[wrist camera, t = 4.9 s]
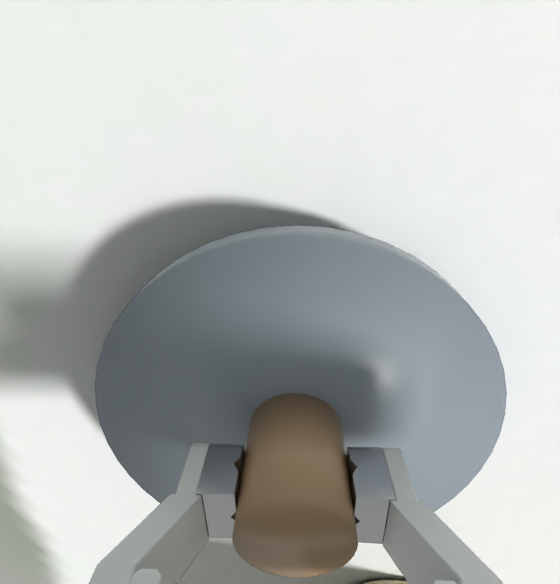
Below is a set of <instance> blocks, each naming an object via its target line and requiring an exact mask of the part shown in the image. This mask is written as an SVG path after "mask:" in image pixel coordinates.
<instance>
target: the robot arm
mask: <svg viewBox="0 0 560 584" xmlns="http://www.w3.org/2000/svg"><path fill="white" fill-rule="evenodd" d="M244 457H245V447H244V445H234V444H215V443H193V445H192V446H191V448H190V451H189V454H188V457H187V460H186V464H185V467H184V470H183V473H182V476H181V479H180V482H179V485H178V489H177V492H176V494H170V495H169V496H168V497H167V498H166V499H165V500H164V501H163V502H162V503H161V504H160V505H159V506H158V507H157V508H156V509H155V510H154V511H152V512H151V513H150V514H149V515H148V516H147V517H146V518H145V519H144V520H143V521H142V522H141V523H140V524H139V525H138V526H137V527H136V528H135V529H134V530H133V531H132V532H131V533H130V534H129V535H128V536H127V537H126V538H125V539H124V540H122V541H121V542H120V543H119V544H118V545H117V546H116V547H115V548H114V549H113V550H112V551H111V552H110V553H109V554H108V555H107V556H106V557H105V558H104V559H103V560H102V561H101V562H100V563H99V564H98V565H97V567H96V569H95V571H94V573H93V576H92V578H91V580H90V582H89V584H177V583H178V581H179V580H180V579H181V577H182V576H183V574H184V573H185V572H186V570H187V569H188V568H189V566H190V565H191V563H192V562H193V561H194V559H195V558H196V557H197V555H198V554H199V552H200V551H201V550H202V548H203V547H204V545H205V544H206V543H207V541H208V540H209V539H208V538H232V535H233V528H234V522H235V515H236V510H237V503H238V497H239V490H240V483H241V476H242V471H243V464H244ZM346 460H347V468H348V475H349V481H350V488H351V496H352V503H353V510H354V516H355V523H356V530H357V537H358V542H362V543H378V544H383V547H384V548H385V550H386V551H387V553H388V554H389V555H390V557H391V558H392V560H393V561H394V563H395V564H396V566H397V567H398V569H399V570H400V571H401V573H402V574H403V576H404V577H405V579H406V580H407V582H408V583H409V584H503V582H502V581H501V580H500V579H499V578H498V577H497V576H496V575H495V574H494V573H493V572H492V571H491V570H490V569H489V568H488V567H487V566H486V565H485V564H484V563H483V562H482V561H481V560H480V559H479V558H478V557H477V556H476V555H475V554H474V553H473V552H472V551H471V550H470V549H469V548H468V547H467V545H466V544H465V543H464V542H463V541H462V540H461V539H460V538H459V537H458V536H457V535H456V534H455V533H454V532H453V531H452V530H451V529H450V528H449V527H448V526H447V525H446V524H445V523H444V522H443V521H442V520H441V519H440V518H439V517H438V516H437V515H436V514H435V513H434V512H433V511H432V510H431V509H430V508H429V507H428V506H427V505H426V504H425V503H424V502H421V501H417V498H416V494H415V491H414V488H413V485H412V482H411V479H410V475H409V472H408V469H407V466H406V463H405V460H404V456H403V453H402V451H401V449H400V448H381V447H347V450H346Z"/></svg>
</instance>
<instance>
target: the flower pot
mask: <svg viewBox="0 0 560 584" xmlns="http://www.w3.org/2000/svg"><path fill="white" fill-rule="evenodd" d="M363 584H409V583H408V582H407V581H397V580H393V581H390V580H378V581H370V582H366V583H363Z"/></svg>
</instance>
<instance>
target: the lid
mask: <svg viewBox="0 0 560 584" xmlns="http://www.w3.org/2000/svg"><path fill="white" fill-rule="evenodd" d="M506 393H507V392H506V383H505V374H504V369H503V365H502V362H501V359H500V356H499V352H498V349H497V347H496V345H495V343H494V341H493V339H492V337H491V335H490V334H489V332H488V330H487V328H486V326H485V325H484V324H483V322H482V321H481V320H480V318H479V317H478V316H477V314H476V313H475V312H474V311H473V309H472V308H471V307H470V305H469V304H468V303H467V302H466V301H465V300H464V299H463V298H462V296H461V295H460V294H459V293H458V292H457V291H456V290H455V289H454V288H453V287H452V286H451V285H450V284H449V283H448V282H447V281H446V280H445V279H444V278H443V277H441V276H440V275H439V274H438V273H437V272H436V271H435V270H433V269H432V268H430V267H429V266H427V265H426V264H424V263H423V262H422V261H420V260H419V259H417V258H416V257H414V256H413V255H411V254H409V253H407V252H405V251H403V250H401V249H399V248H397V247H395V246H393V245H390V244H388V243H386V242H383V241H380V240H377V239H374V238H371V237H368V236H365V235H362V234H359V233H355V232H350V231H344V230H339V229H334V228H329V227H315V226H299V225H295V226H280V227H265V228H260V229H255V230H250V231H245V232H240V233H235V234H232V235H229V236H226V237H223V238H220V239H218V240H215V241H212V242H209V243H206V244H204V245H202V246H200V247H198V248H196V249H194V250H192V251H190V252H189V253H187V254H185V255H183V256H181V257H180V258H178V259H177V260H175V261H174V262H173V263H171V264H170V265H168V266H167V267H165V268H164V269H163V270H161V271H160V272H159V273H158V274H157V275H156V276H155V277H154V278H153V279H152V280H151V281H150V282H149V283H147V284H146V285H145V286H144V287H143V288H142V290H141V291H140V292H139V293H138V294H137V295H136V296H135V297H134V299H133V300H132V301H131V302H130V303H129V304H128V306H127V307H126V308H125V310H124V311H123V312H122V314H121V315H120V316H119V318H118V319H117V320H116V322H115V323H114V325H113V327H112V329H111V331H110V333H109V334H108V336H107V338H106V340H105V342H104V345H103V348H102V351H101V354H100V358H99V361H98V364H97V372H96V380H95V396H96V407H97V412H98V416H99V421H100V425H101V427H102V430H103V432H104V435H105V437H106V440H107V442H108V444H109V446H110V448H111V449H112V451H113V453H114V455H115V456H116V458H117V460H118V461H119V462H120V464H121V465H122V466H123V468H124V469H125V470H126V471H127V473H128V474H129V475H130V476H131V477H132V478H133V479H134V480H135V481H136V482H137V484H138V485H139V486H140V487H141V488H142V489H143V490H145V491H146V492H147V493H148V494H150V495H151V496H152V497H153V498H154V499H156V500H157V501H158V502H159V503H162V502H163V501H164V500H165V499H166V498H167V497H168V496H169V495H170V494H176V492H177V489H178V485H179V482H180V479H181V476H182V473H183V470H184V467H185V464H186V460H187V457H188V454H189V451H190V448H191V446H192V445H193V443H215V444H234V445H244V447H245V457H244V464H243V471H242V476H241V483H240V490H239V497H238V503H237V510H236V515H235V522H234V528H233V535H232V540H233V545H234V547H235V549H236V551H237V553H238V554H239V555H240V556H241V557H242V558H243V559H244V560H245V561H246V562H247V563H249V564H250V565H252V566H254V567H256V568H258V569H260V570H262V571H265V572H268V573H271V574H275V575H279V576H286V577H311V576H318V575H322V574H326V573H329V572H332V571H334V570H336V569H338V568H340V567H342V566H343V565H345V564H346V563H347V562H348V561H349V560H350V559H351V558H352V557H353V556H354V554H355V552H356V550H357V546H358V537H357V530H356V523H355V516H354V510H353V503H352V496H351V488H350V481H349V475H348V468H347V460H346V450H347V447H381V448H400V449H401V451H402V453H403V456H404V460H405V463H406V466H407V469H408V472H409V475H410V479H411V482H412V485H413V488H414V491H415V494H416V498H417V501H421V502H424V503H425V504H426V505H427V506H428V507H429V508H430V509H431V510H432V511H433V512H435V511H436V510H438V509H439V508H440V507H442V506H443V505H445V504H446V503H447V502H449V501H450V500H452V499H453V498H454V497H455V496H456V495H457V494H458V493H459V492H461V491H462V490H463V489H464V488H465V487H466V486H467V485H468V484H469V483H470V482H471V481H472V479H473V478H474V477H475V476H476V475H477V473H478V472H479V471H480V470H481V469H482V467H483V465H484V464H485V462H486V461H487V459H488V458H489V456H490V454H491V453H492V451H493V448H494V446H495V444H496V442H497V439H498V437H499V435H500V432H501V428H502V424H503V420H504V416H505V407H506Z"/></svg>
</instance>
